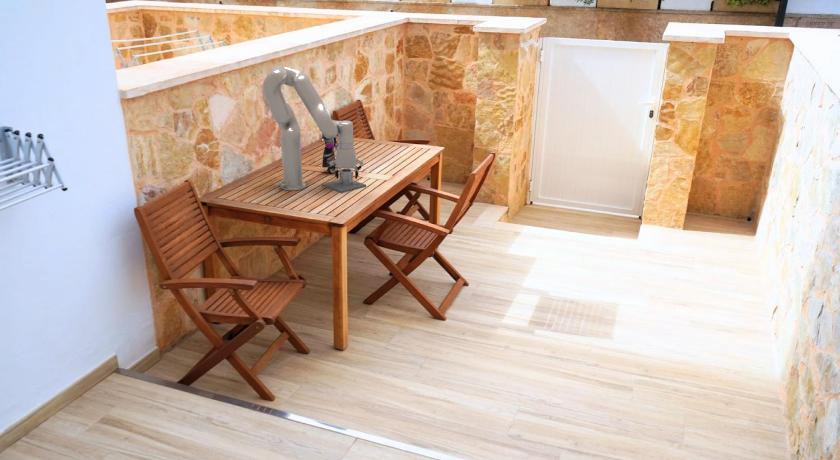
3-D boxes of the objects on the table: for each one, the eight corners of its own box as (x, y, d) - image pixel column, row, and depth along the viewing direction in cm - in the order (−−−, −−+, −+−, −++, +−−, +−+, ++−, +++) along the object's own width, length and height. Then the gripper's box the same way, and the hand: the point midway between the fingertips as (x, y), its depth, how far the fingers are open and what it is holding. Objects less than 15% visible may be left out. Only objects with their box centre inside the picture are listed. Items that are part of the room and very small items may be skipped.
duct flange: (341, 193, 336) (341, 181, 334) (322, 185, 347) (321, 174, 345) (366, 186, 347) (365, 175, 344) (346, 179, 357) (346, 168, 355)
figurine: (329, 178, 358) (327, 122, 347) (315, 177, 359) (313, 122, 348) (339, 169, 374) (337, 116, 363) (326, 169, 375) (324, 115, 364)
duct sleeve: (339, 185, 345) (339, 172, 342) (341, 181, 351) (340, 168, 348) (352, 185, 345) (352, 172, 342) (353, 181, 351) (353, 168, 348)
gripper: (327, 147, 337) (329, 180, 343) (362, 147, 337) (363, 180, 343) (329, 143, 344) (330, 175, 350) (363, 143, 344) (364, 176, 350)
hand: (346, 178), depth 347 cm, fingers open, 9 cm apart
